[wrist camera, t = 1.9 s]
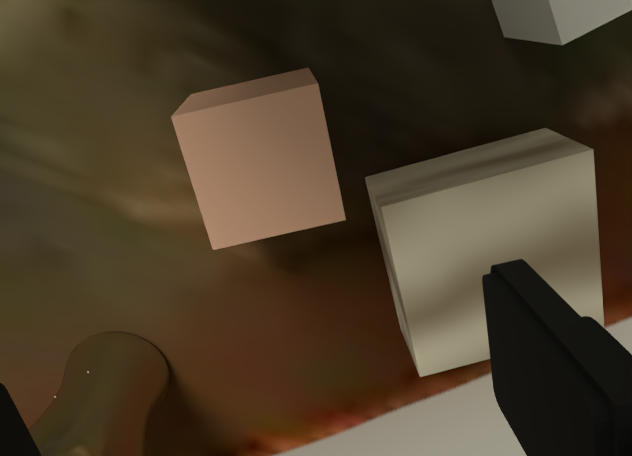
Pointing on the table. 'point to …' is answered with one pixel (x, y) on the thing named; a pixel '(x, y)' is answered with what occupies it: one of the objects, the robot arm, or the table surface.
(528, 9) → the grey block
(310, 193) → the terracotta block
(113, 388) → the beer glass
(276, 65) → the table surface
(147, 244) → the table surface
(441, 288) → the ash base block
